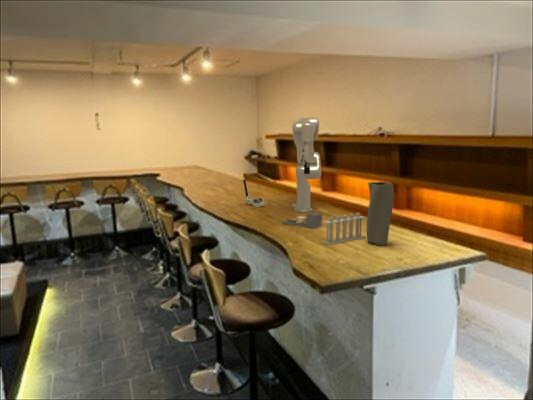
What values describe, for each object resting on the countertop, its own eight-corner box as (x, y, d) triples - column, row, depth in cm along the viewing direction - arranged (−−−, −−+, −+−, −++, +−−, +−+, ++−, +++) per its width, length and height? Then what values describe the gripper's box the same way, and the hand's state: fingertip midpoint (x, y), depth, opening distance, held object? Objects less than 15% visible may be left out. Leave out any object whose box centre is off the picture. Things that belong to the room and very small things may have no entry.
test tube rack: (328, 245, 202) (328, 218, 199) (322, 243, 205) (322, 217, 203) (365, 237, 214) (366, 213, 212) (359, 236, 218) (359, 211, 216)
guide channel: (282, 224, 246) (282, 221, 246) (287, 221, 252) (287, 219, 251) (307, 227, 238) (307, 224, 237) (311, 225, 243) (311, 222, 243)
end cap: (306, 227, 237) (306, 214, 236) (312, 224, 244) (312, 212, 242) (315, 228, 234) (315, 216, 233) (321, 226, 240) (321, 213, 239)
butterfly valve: (268, 205, 306) (251, 200, 316) (264, 181, 297) (247, 177, 307) (261, 210, 300) (243, 205, 310) (257, 185, 291) (239, 181, 301)
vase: (384, 239, 211) (386, 181, 206) (395, 245, 199) (398, 184, 194) (361, 240, 209) (363, 182, 204) (371, 247, 197) (374, 185, 192)
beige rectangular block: (295, 225, 243) (296, 217, 242) (299, 224, 246) (299, 216, 245) (313, 228, 236) (313, 219, 235) (316, 227, 239) (316, 218, 238)
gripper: (307, 144, 241) (306, 175, 245) (318, 143, 254) (317, 172, 257) (295, 144, 245) (295, 174, 249) (307, 143, 258) (306, 172, 261)
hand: (306, 173), depth 253 cm, fingers closed
